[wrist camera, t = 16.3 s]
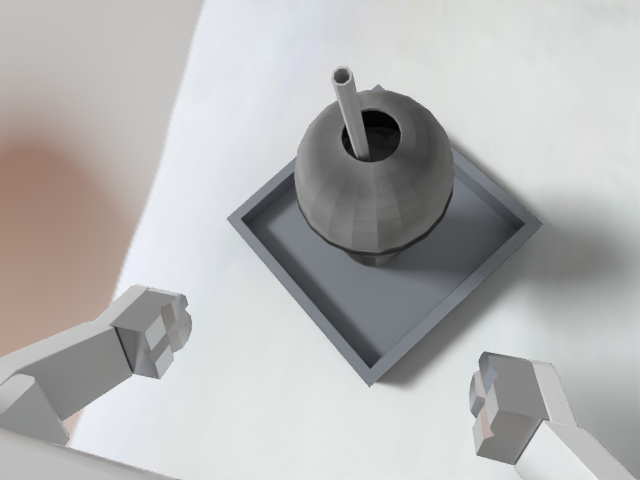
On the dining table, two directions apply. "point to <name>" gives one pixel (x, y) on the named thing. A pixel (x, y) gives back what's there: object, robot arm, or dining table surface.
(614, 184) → the dining table surface
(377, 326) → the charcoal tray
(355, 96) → the beverage cup
